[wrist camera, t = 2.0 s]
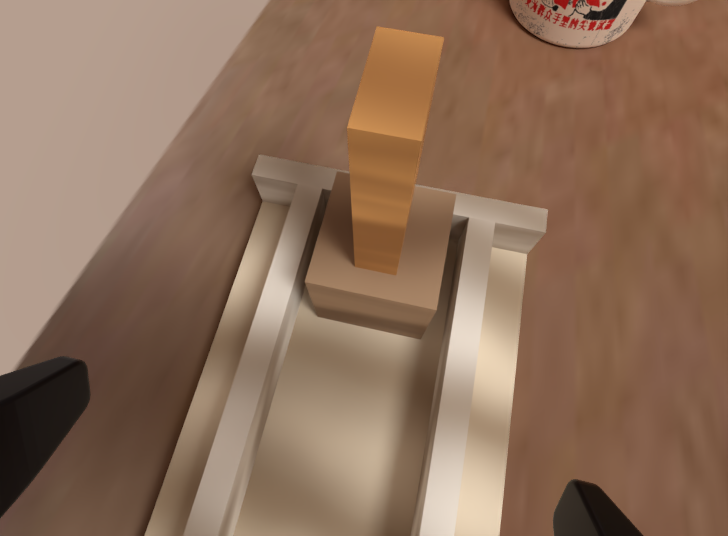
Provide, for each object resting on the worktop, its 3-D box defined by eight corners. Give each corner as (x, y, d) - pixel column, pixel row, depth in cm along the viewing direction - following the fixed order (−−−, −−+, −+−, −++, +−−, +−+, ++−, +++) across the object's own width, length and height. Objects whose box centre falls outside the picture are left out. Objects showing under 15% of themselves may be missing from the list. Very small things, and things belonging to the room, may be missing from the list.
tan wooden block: (420, 339, 21) (497, 197, 9) (317, 316, 21) (256, 151, 9) (437, 245, 23) (521, 18, 11) (342, 225, 23) (317, -13, 11)
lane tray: (473, 679, 17) (502, 744, 14) (140, 586, 19) (84, 622, 15) (520, 232, 25) (548, 194, 21) (278, 184, 26) (264, 141, 22)
